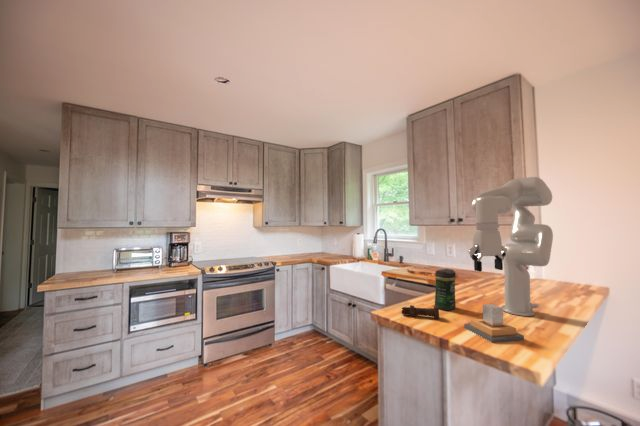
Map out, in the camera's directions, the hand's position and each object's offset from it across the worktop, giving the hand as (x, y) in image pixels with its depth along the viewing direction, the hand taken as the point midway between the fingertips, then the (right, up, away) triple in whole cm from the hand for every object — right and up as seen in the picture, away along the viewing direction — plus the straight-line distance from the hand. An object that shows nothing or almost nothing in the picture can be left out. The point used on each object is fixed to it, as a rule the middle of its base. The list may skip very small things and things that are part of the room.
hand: (488, 270), depth 107 cm
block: (-4, -22, -8) cm, 23 cm away
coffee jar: (-7, -23, +22) cm, 32 cm away
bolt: (-24, -23, +9) cm, 34 cm away
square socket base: (-4, -22, -8) cm, 23 cm away
